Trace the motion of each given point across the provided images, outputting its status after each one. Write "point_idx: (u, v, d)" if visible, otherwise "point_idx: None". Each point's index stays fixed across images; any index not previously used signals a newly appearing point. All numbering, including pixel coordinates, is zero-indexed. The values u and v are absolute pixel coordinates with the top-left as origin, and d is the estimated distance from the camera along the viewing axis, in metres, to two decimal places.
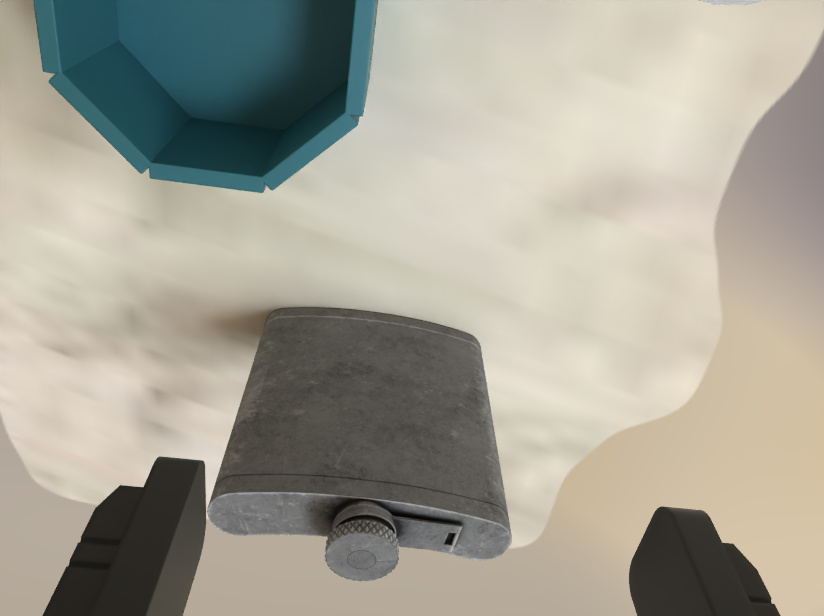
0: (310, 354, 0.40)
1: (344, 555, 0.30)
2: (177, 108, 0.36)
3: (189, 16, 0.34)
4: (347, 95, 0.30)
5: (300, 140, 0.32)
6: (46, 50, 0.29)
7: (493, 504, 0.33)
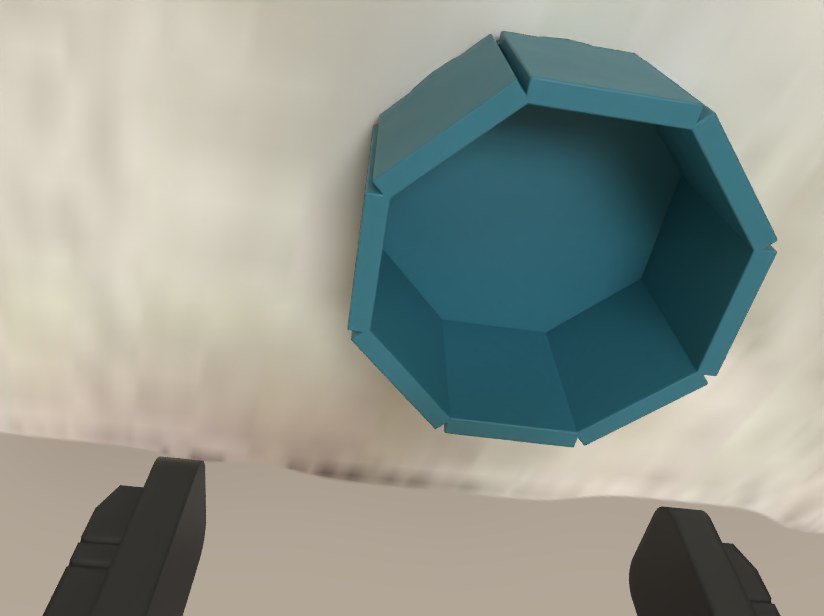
0: None
1: None
2: (628, 293, 0.31)
3: (531, 262, 0.31)
4: (668, 125, 0.20)
5: (712, 186, 0.23)
6: (553, 440, 0.27)
7: None
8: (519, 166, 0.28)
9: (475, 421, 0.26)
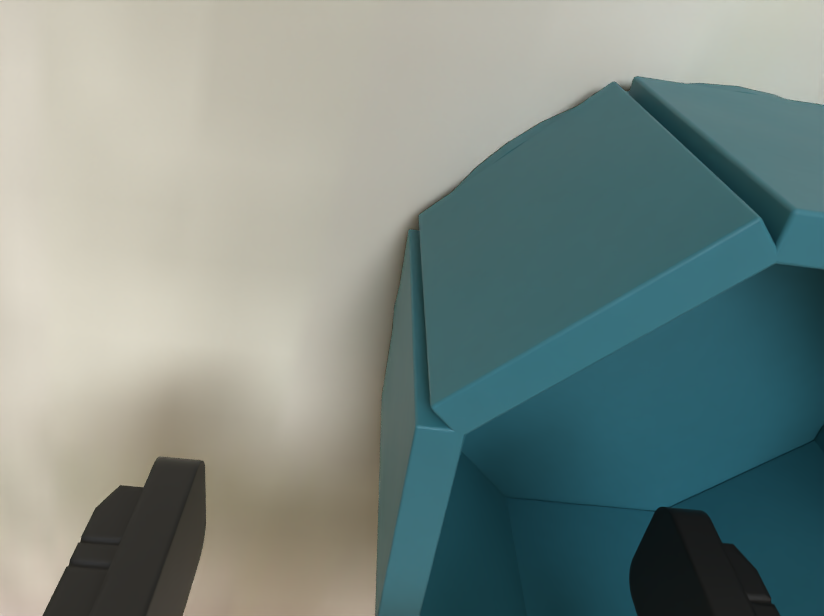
0: None
1: None
2: (796, 464, 0.20)
3: (647, 421, 0.20)
4: None
5: None
6: None
7: None
8: None
9: None
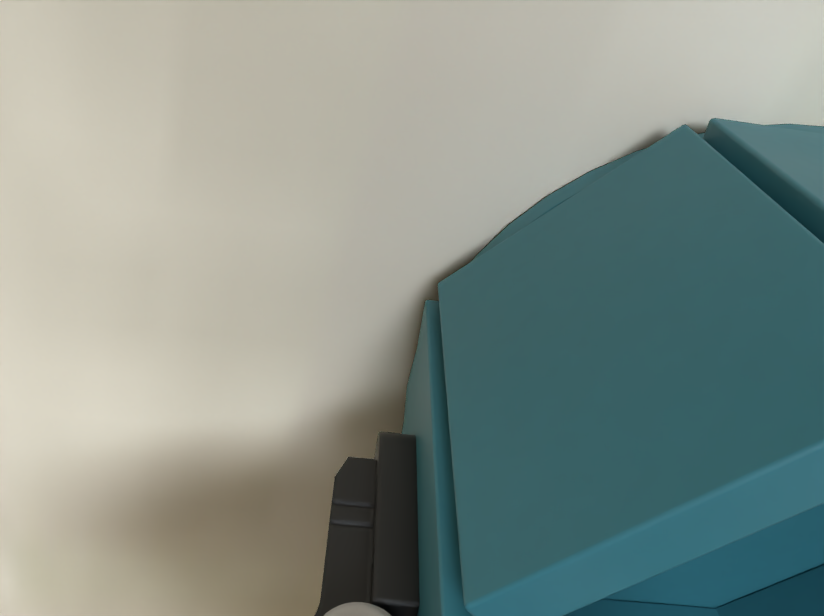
0: None
1: None
2: None
3: None
4: None
5: None
6: None
7: None
8: None
9: None
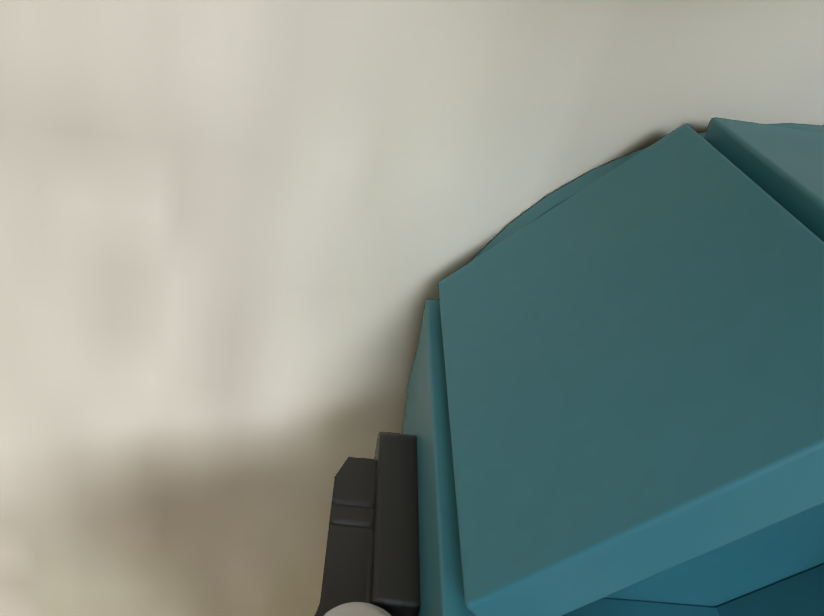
0: None
1: None
2: None
3: None
4: None
5: None
6: None
7: None
8: None
9: None
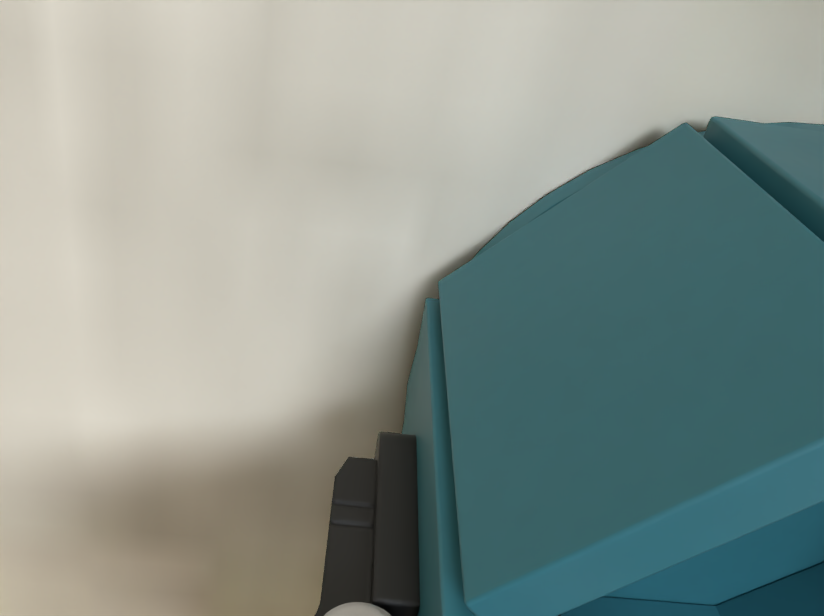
0: None
1: None
2: None
3: None
4: None
5: None
6: None
7: None
8: None
9: None
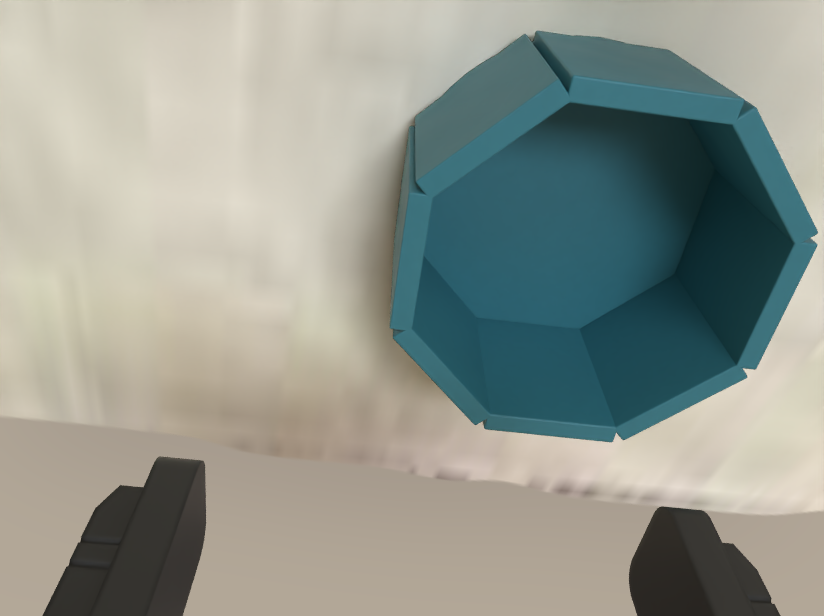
0: None
1: None
2: (662, 288, 0.31)
3: (564, 259, 0.31)
4: (709, 120, 0.20)
5: (751, 180, 0.23)
6: (592, 435, 0.27)
7: None
8: (553, 164, 0.28)
9: (514, 417, 0.27)
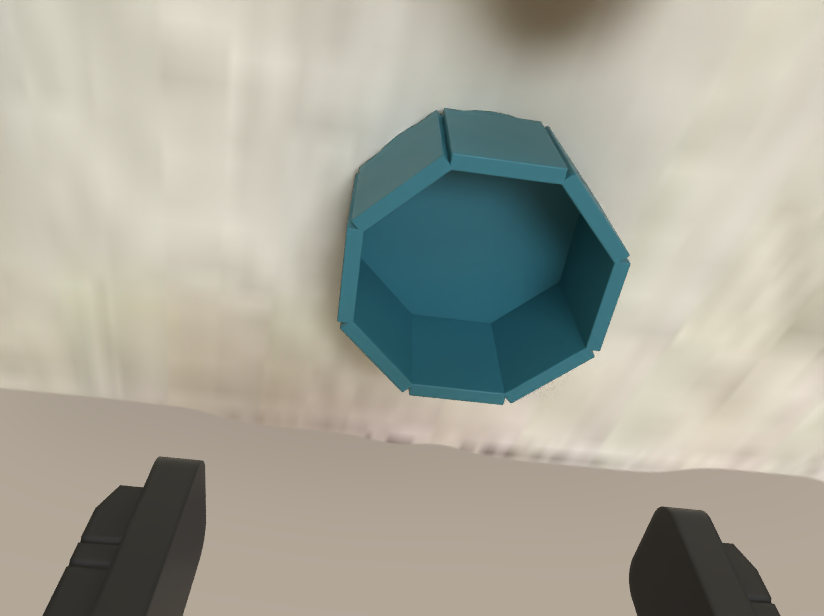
0: None
1: None
2: (549, 292, 0.41)
3: (476, 270, 0.41)
4: (545, 181, 0.31)
5: None
6: (487, 399, 0.37)
7: None
8: (463, 201, 0.39)
9: (431, 386, 0.37)
